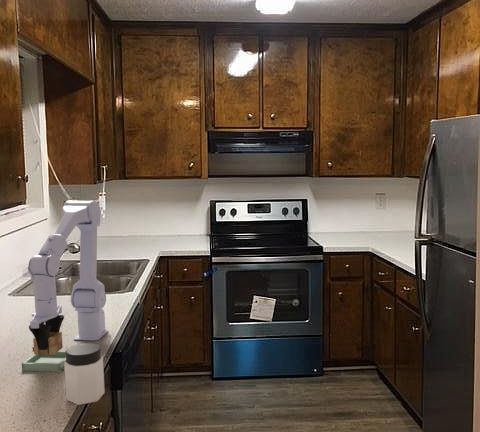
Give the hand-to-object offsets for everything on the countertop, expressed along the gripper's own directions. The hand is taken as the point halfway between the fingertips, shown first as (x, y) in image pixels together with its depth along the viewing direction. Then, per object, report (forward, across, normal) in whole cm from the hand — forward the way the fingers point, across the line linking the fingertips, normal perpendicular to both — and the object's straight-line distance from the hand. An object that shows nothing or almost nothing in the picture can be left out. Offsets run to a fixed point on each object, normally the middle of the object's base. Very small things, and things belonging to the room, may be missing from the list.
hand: (48, 345), depth 150 cm
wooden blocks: (+2, 0, 0) cm, 2 cm away
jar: (+6, +19, +18) cm, 27 cm away
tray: (+5, 0, 0) cm, 5 cm away
